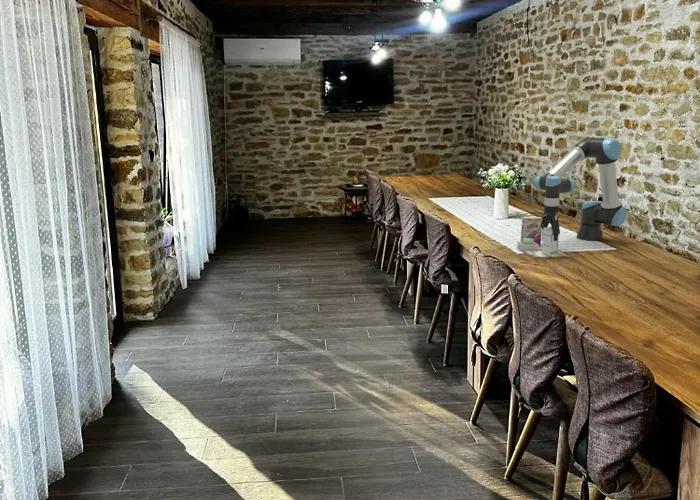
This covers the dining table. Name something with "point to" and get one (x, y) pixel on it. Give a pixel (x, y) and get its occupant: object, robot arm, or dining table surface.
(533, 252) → the drawing board
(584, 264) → the dining table surface
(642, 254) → the dining table surface
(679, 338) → the dining table surface
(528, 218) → the candy bar box
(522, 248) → the button housing
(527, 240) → the button
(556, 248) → the syrup box
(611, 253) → the dining table surface
